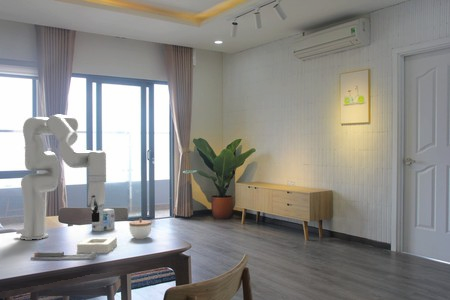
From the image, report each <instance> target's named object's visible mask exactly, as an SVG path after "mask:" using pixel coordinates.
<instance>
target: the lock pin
mask: <svg viewBox="0 0 450 300" xmlns="http://www.w3.org/2000/svg"><path fill="white" fill-rule="evenodd" d="M33 254H34V255H33V257H64V255H65V252H64V251H35V252H34V253H33Z"/></svg>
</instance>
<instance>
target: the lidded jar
mask: <svg viewBox="0 0 450 300" xmlns="http://www.w3.org/2000/svg"><path fill="white" fill-rule="evenodd" d="M151 231H152V221H151V220H146V219H145V220H144V219H142V218H139V219H138V220H132V221H129V232H130V234H131V236H132V237H133V238H134V239H135V240H145V239H147V238H148V237H149V235H150V234H151ZM144 238H145V239H144Z"/></svg>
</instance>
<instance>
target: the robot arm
mask: <svg viewBox="0 0 450 300" xmlns="http://www.w3.org/2000/svg"><path fill="white" fill-rule="evenodd" d="M22 127H23V128H22V133H23V139H24V150H25V151H24V165H25V168H26V170H28V171H29V172H30V171H31V172H38V171H39V172H41V171H43V172H44V173H29V174H27V175H24V176H23V177H22V178H21V181H20V187H21V191H22V199H23V228H22V229H16V231H15V232H16V234H17V235H20V234H21V235H20V237H19V238H21V239H20V240H22V239H25V240H24V241H33V240H32V239H37V240H42V238H43V239H46V238H48V237H49V233H47V232H46V213H45V211H46V209H45V207H46V206H45V204H46V202H45V198H44V197H43V195H42V194H41V193H47V192H53V191H55V190H56V189H57V188H58V185H59V171H60V170H59V167H60V166H59V163H60V162H59V158H58V156H57V154H56V153H55V152H52V151H45V142H44V140H43V138H42V137H41V136H40V135H44V136H45V135H46V136H51V135H52V136H54V137H55V139H56V140H57V141H58V142H59V145H58V153H59V156H60V158H61V159H62V160H63V162H64V163H65V164H66V166H68V167H70V168H73V169H79V168H81V169H82V168H87V183H88V186H87V187H88V189H87V190H88V191H87V205H88V207H90V209H91V223H92V222H99V221H100V213H99V205H101V204H103V205H104V204H105V203H106V187H105V186H106V185H105V183H107V155H106V152H105V151H102V150H74V149H73V148H72V147H71V146H73V145H74V144H75V143H76V142H77V140H78V136H79V135H78V133H77V130H78V129H79V123H78V120H77V119H76V118H75V117H74V116H72V115H64V114H53V115H50V116H49V117H46V116H32V117H28V118H27V119H26V120H25V121H24V123H23V126H22ZM95 204H97V205H95ZM96 207H97V209H96Z"/></svg>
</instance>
